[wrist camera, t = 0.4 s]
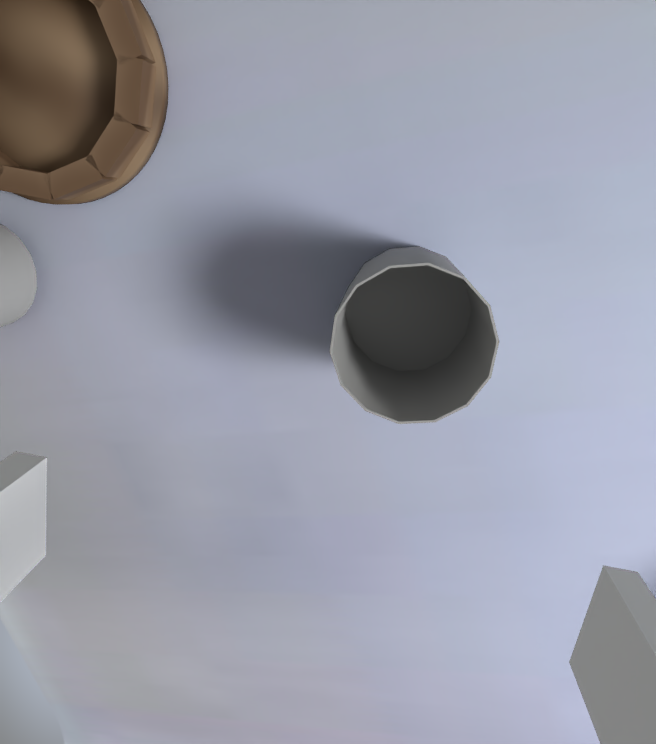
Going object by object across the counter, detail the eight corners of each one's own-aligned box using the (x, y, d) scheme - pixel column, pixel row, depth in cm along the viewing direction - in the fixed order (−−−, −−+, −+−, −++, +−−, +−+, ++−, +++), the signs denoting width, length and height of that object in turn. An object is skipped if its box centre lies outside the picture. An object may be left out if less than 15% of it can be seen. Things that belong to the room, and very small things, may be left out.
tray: (-62, -77, 35) (-102, -101, 32) (179, -35, 34) (160, -57, 31) (-56, 182, 39) (-91, 180, 36) (157, 223, 39) (138, 225, 36)
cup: (349, 372, 40) (336, 426, 31) (339, 252, 38) (322, 270, 28) (473, 365, 39) (499, 419, 30) (470, 241, 37) (498, 257, 27)
